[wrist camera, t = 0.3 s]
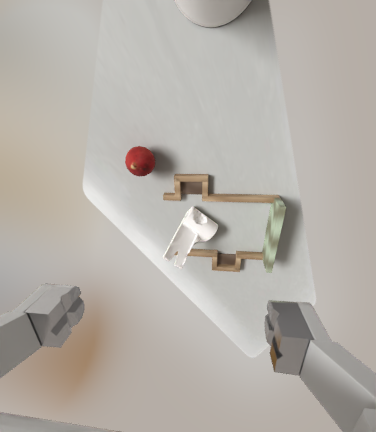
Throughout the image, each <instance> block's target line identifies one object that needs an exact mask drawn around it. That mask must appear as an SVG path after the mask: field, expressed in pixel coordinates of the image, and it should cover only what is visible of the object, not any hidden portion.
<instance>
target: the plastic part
mask: <svg viewBox="0 0 376 432" xmlns="http://www.w3.org/2000/svg"><path fill="white" fill-rule="evenodd" d="M217 229H218V224H217V223H215V222H214V221H212V220H211V219H210V218H208V217H207V216H206V215H204V214H203V213H201V212H200V211H199V210H197V209H196V208H195V207H191V208H190V210H189V211H188V212H187V213H186V215H185V216H184V218H183V220H182V222H181V224H180V226H179V228H178V229H177V231H176V233H175V235H174V237H173V239H172V241H171V243H170V244H169V246H168V248H167V250H166V252H165V254H164V256H163V258H164V259H165V260H167V261H170V260H171V259H172V257H173V256H174V254H175V253H176V252H177V251H178V255H177V257H176V260H175V263H174V265H175V266H176V267H178V268H180V269H182V268H183V265H184V263H185V261H186V259H187V258H186V257H187V255H188V253H190V250H191V248H192V246H193V245H194V243H195V242H205V241H207V240H209V239H210V238H212V237H213V235H214V234H215V233H216V231H217Z"/></svg>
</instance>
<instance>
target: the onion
mask: <svg viewBox="0 0 376 432" xmlns="http://www.w3.org/2000/svg"><path fill="white" fill-rule="evenodd" d="M125 163H126V166H127V168H128V170H129V171H130V172H131V173H132V174H134V175H136V176H146V175H147V174H149V173H151V172H152V170H153V169H154V167H155V159H154V156H153V154H152V153H151V151H150V150H148V149H147V148H145V147H141V146H138V147H133V148H132V149H131V150H129V152H128V153H127V155H126V161H125Z"/></svg>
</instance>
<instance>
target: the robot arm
mask: <svg viewBox="0 0 376 432" xmlns="http://www.w3.org/2000/svg"><path fill="white" fill-rule="evenodd" d="M174 1H175V3H176V5H177V7H178V8H179V9H180V11H181V12H182V13H183V14H184V15H185V16H186V17H187V18H188V19H189V20H191V21H192V22H194V23H196V24H198V25H200V26H205V27H217V26H221V25H224V24H227V23H229V22H230V21H232V20H234V19H235V18H236V17H237V16H239V15H240V14H241V13H242V12H243V11H244V10H245V9H246V7H247V6H248V5H249V3H250V2H251V0H174ZM80 294H81V291H80V289H79V287H76V286H68V285H58V284H43V285H41V286H40V287H39V288H38V289H37V290H36V291H34V292H33V293H32V294H31V295H30V296H29V297H28V298H26V299H25V300H24V301H23V302H22V303H21V304H20V305H19V306H18V307H16V308H15V309H14V310H13V311H12V312H6V313H4V314H2V315H0V378H1V377H3V376H4V375H5V374H6V373H8V372H9V371H11V370H12V369H13V368H14V367H16V366H17V365H18V364H20V363H21V362H22V361H24V360H25V359H26V358H28V357H29V356H30V355H32V354H33V353H34V352H36V351H37V350H38V349H39V348H41V346H47V347H59V348H61V347H62V345H63V344H64V342H65V341H66V340H67V338H68V337H69V335H70V334H71V328H72V327H73V326H75V325H76V324H78V322H79V321H80V320H81V318H82V316H83V313H84V302H83V300H82V299H81V298H80V297H79V296H80ZM267 310H268V314H267V315H266V316H265V335H266V339H267V342H268V343H269V345H270V346H271V350H270V356H271V360H272V364H273V368H274V372H278V373H286V374H292V375H299V376H300V378H301V380H302V381H303V382H304V383H305V385H306V386H307V387H308V388H309V390H310V391H311V392H312V393H313V395H314V396H315V397H316V398H317V400H318V401H319V402H320V404H321V405H322V406H323V407H324V409H325V410H326V411H327V412H328V414H329V415H330V416H331V418H332V419H333V420H334V421H335V423H336V424H337V425H338V426H339V428H340V429H341V430H342V431H343V432H376V373H375V372H373V371H372V370H371V369H370V368H368V367H367V366H366V365H365V364H363V363H362V362H361V361H360V360H358V359H357V358H356V357H355V356H353V355H352V354H351V353H350V352H348V351H347V350H346V349H345V348H343V347H342V346H341V345H340V344H338V343H336V342H332V340H331V339H330V337H329V335H328V333H327V331H326V329H325V328H324V326H323V324H322V322H321V321H320V319H319V317H318V315H317V313H316V311H315V310H314V308H313V306H312V305H311V304H310V303H305V302H287V301H272V300H269V301H268V304H267ZM0 432H120V431H114V430H107V429H101V428H95V427H89V426H83V425H77V424H70V423H64V422H58V421H52V420H46V419H39V418H33V417H27V416H20V415H15V414H9V413H3V412H0Z"/></svg>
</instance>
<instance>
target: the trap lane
mask: <svg viewBox="0 0 376 432" xmlns="http://www.w3.org/2000/svg"><path fill="white" fill-rule="evenodd" d="M174 185H175V193H164V195H163V200H178V201H181V194H202V201H220V202H262V203H271V208H270V213H269V218H268V224H267V229H266V235H265V240H264V246H263V251H262V252H243V251H236V254H218V253H217V250H203V249H191V250H190V253H188V255H187V256H201V257H212V270H217V271H233V272H240V264H241V259H256V260H263V263H264V266H265V269H266V272H267V273H272V269H273V264H274V260H275V256H276V251H277V247H278V242H279V238H280V233H281V229H282V225H283V220H284V216H285V211H286V206H285V204H284V203H283V201H282V200H281V198H280V197H279V195H247V194H208V174H175V175H174ZM174 255H178V251H177V252H176V253H175V254H174Z"/></svg>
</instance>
